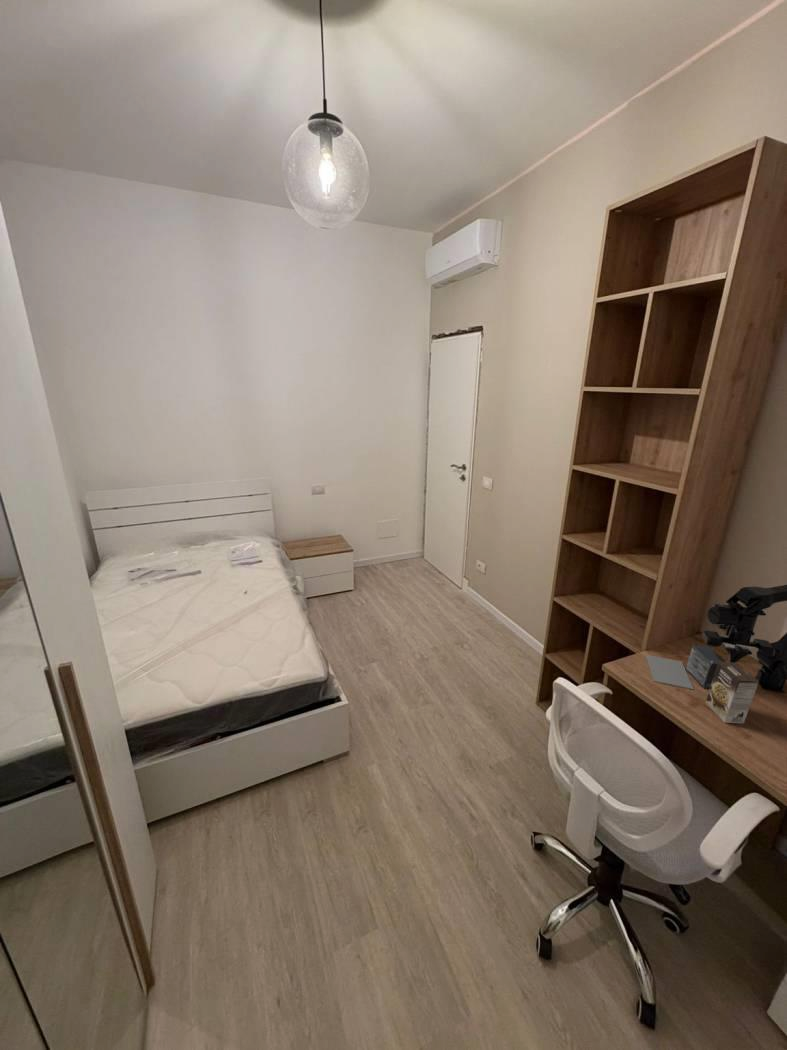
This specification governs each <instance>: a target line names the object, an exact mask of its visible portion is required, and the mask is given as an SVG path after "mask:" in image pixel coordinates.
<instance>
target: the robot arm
mask: <svg viewBox="0 0 787 1050" xmlns="http://www.w3.org/2000/svg"><path fill="white" fill-rule="evenodd" d="M781 602H787V584H784V585H777V586H772V587H763V586H761V587H760V586H745V587H741V588H740V589H739V590H738V591H737V592H736V593H734V594H733V595H732V596H731V597H730V598H728V599H727V600H725V603H726V604H720V603H715V604H714V606H712V607H709V609H708V610H707V620H708V621H709V622H710V624H712V625H716V628H717V629H720V630H721V631H722V632H724V634H725V636H720V635H719V633H718V631H713V630H704V631H703V632H702V634H701V637H702V639H703V641H704V643H705V644H706V646H709V647H710V646H711V647H716V648H718V647H721V646H722V647H724V650H726V655H727V660H728V661H727V662H731V663H738V662H739V661H740V660H741V659H743V658H744V657H746V656H748V655H752V654H753V652H752V649H757V651H756V658H757V660H758V663H759V664H760V665H761V667H760V669H758V670H757V673H756V675H755V676H754V678H756V679H757V680H758V681H759V683H758V685H759V687H760V688H761V689H762V690H768V691H772V692H778V693H783V694H785V693H786V691H785V689H784V687H785V684H786V682H787V632H786V633H785V634H783V636H782V637H780V639H778V640H777V641H774V642H770V641H768V640H767V639H761V638H754V639H753V641H751V638H752V636H753V637H754V636H755V631H754V630H755V626H756V623H757V621H758V617H759V616H766V615H767V614H766V612H765V611H764V610H766V609H768V608H771V607H772V606H773V605H774V604H776V603H781ZM740 603H741V604H740ZM726 636H727V637H726Z"/></svg>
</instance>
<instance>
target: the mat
mask: <svg viewBox="0 0 787 1050" xmlns="http://www.w3.org/2000/svg"><path fill="white" fill-rule="evenodd" d="M645 655H646V656H645V658H647V659H646V661H648V662H647V664H649V665H648V667H650V668H649V670H650V673H651V674H650V675H651V677H652V680H653V682H654V683H658V684H663V685H668V686H671V687H672V686H673V687H678V688H682V689H687V690H691V691H694V690H695V688H694V686H693V683H692V681H691V679H690V676H689V675H688V674H689V673H688V672H687V671H686V670H685V668H686V667H685V666H684V664H683V661H681V660H675V659H670V658H664V657H661V656H660V657H659V656H654V655H649V654H645Z"/></svg>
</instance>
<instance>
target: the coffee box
mask: <svg viewBox="0 0 787 1050" xmlns="http://www.w3.org/2000/svg"><path fill="white" fill-rule="evenodd" d="M758 685H759V681H758V680H757V679H756V678H755V676H754V675H752V674H751V673H750V672H748V670H746V669H745V668H744V667H743V666H742V665H741V664H740V663H738V662H736V663H731V662H729V661H726V662H718V664H717V667H716V670H715V674H714V677H713V680H712V683H711V687H710V688H709V691H708V694H707V697H706V699H705V700H706V701H705V704H706V705H707V706H708V707H709V708H710V709H711V710H712V711H713V713H715V714H716V715H717V716H718V717H719V718H720V719H721V721H722V722H724V723H725V724H745V721H746V719H747V715H748V713H749V709H750V708H751V705H752V702H753V700H754V699H753V698H754V696H755V694H756V691H757V688H758Z"/></svg>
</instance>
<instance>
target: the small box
mask: <svg viewBox="0 0 787 1050" xmlns="http://www.w3.org/2000/svg"><path fill="white" fill-rule="evenodd" d="M718 662H727V661H726V660H725V659H724V658H723V657H722V656H720V655H719V654H718V653H717V652H716V651H715V650H714V649H712V647H710V645H691V648H690V652H689V655H688V659H687V662H686V665H685V667H684V668H685V670H686V672H687V674H689V675H690V676H691V677H692V678H693V679H694V680H695V681H696V682H697V683H698V684H699V685H700V687H702V688H703V689H710V687H711V683H712V680H713V677H714V674H715V670H716V667H717V664H718Z"/></svg>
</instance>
